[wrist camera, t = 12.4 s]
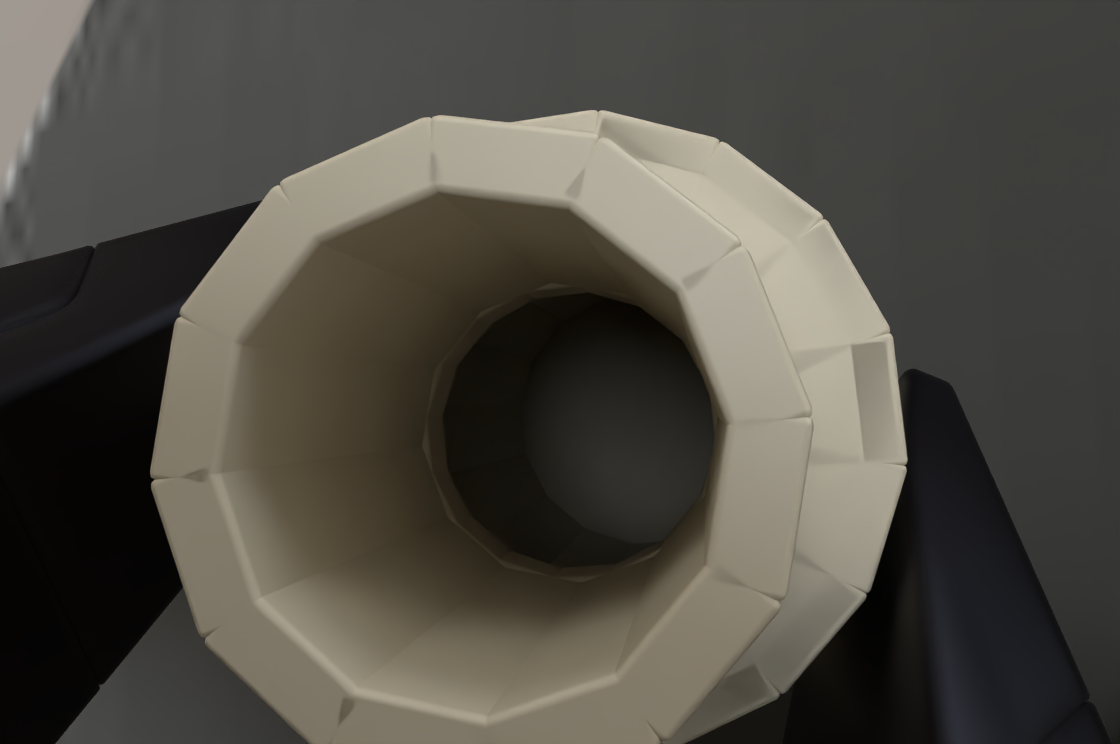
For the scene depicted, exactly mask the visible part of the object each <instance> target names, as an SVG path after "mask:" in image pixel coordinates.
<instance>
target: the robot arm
mask: <svg viewBox="0 0 1120 744" xmlns="http://www.w3.org/2000/svg"><path fill="white" fill-rule="evenodd" d="M262 201H263V200H261V201H257V202H254V203H250V204H246V205H242V206H238V207H235V208H231V209H227V210H223V211H219V212H216V213H212V214H208V215H204V216H200V217H197V218H193V219H189V220H185V221H181V222H178V223H174V224H170V225H166V226H162V227H159V228H155V229H151V230H147V231H143V232H140V233H136V234H132V235H128V236H124V237H121V238H117V239H113V240H109V241H105V242H102V243H99V244H97V246H96V247H95V249H94V248H93V247H92V246H86V247H82V248H78V249H75V250H71V251H67V252H63V253H59V254H56V255H52V256H48V257H44V258H40V259H35V260H31V261H27V262H23V263H19V264H15V265H11V266H7V267H3V268H0V744H55V743H56V742H57V741H58V740H59V738H60V737H61V736H62V735H63V734H64V732H65V731H66V730H67V729H68V727H69V726H70V725H71V724H72V723H73V721H74V720H75V719H76V718H77V717H78V715H79V714H80V713H81V712H82V710H83V709H84V708H85V707H86V706H87V704H88V703H89V702H90V701H91V699H92V698H93V697H94V696H95V695H96V693H97V692H98V691H99V689H100V686H99V685H102V684H104V683H105V682H106V680H107V679H108V678H109V677H110V676H111V674H112V673H113V672H114V671H115V669H116V668H117V667H118V666H119V665H120V663H121V662H122V661H123V660H124V658H125V657H126V656H127V655H128V654H129V652H130V651H131V650H132V649H133V648H134V646H135V645H136V644H137V643H138V641H139V640H140V639H141V638H142V637H143V635H144V634H145V633H146V632H147V630H148V629H149V628H150V627H151V626H152V624H153V623H154V622H155V621H156V619H157V618H158V617H159V616H160V615H161V613H162V612H163V611H164V610H165V609H166V607H167V606H168V605H169V604H170V602H171V601H172V600H173V599H174V598H175V596H176V595H177V594H178V593H179V591H180V590H181V589H182V588H183V585H182V582H181V579H180V576H179V572H178V569H177V566H176V563H175V560H174V557H173V554H172V551H171V548H170V545H169V542H168V539H167V536H166V533H165V529H164V526H163V523H162V520H161V517H160V514H159V511H158V508H157V505H156V502H155V499H154V496H153V493H152V490H151V483H152V482H153V481H154V480H155V479H153V478H151V475H150V468H151V462H152V456H153V450H154V444H155V438H156V432H157V426H158V420H159V414H160V408H161V402H162V396H163V390H164V384H165V378H166V372H167V366H168V360H169V354H170V348H171V342H172V336H173V330H174V324H175V322H176V320H177V318H179V317H181V315H180V314H179V313H180V310H181V308H182V306H183V305H184V304H185V302H186V301H187V300H188V298H189V297H190V296H191V294H192V293H193V292H194V290H195V289H196V288H197V286H198V285H199V284H200V282H201V281H202V280H203V278H204V277H205V276H206V275H207V273H208V272H209V271H210V269H211V268H212V267H213V265H214V264H215V263H216V261H217V260H218V259H219V257H220V256H221V255H222V253H223V252H224V251H225V249H226V248H227V247H228V246H229V244H230V243H231V242H232V240H233V239H234V238H235V236H236V235H237V234H238V232H239V231H240V230H241V228H242V227H243V226H244V224H245V223H246V222H247V220H248V219H249V218H250V217H251V215H252V214H253V213H254V211H255V210H256V209H257V207H258V206H259V205H260V203H261V202H262ZM898 383H899V391H900V399H901V408H902V416H903V424H904V433H905V441H906V450H907V458H908V461H907V464H906V465H904V466H905V467H906V470H907V472H906V476H905V479H904V482H903V486H902V489H901V492H900V496H899V499H898V502H897V506H896V509H895V512H894V516H893V519H892V522H891V525H890V529H889V532H888V535H887V539H886V542H885V545H884V549H883V552H882V555H881V559H880V562H879V565H878V569H877V572H876V575H875V579H874V582H873V585H872V589H871V590H870V591H869V592H868V593H866V595H867V596H866V600H865V601H864V602H863V603H862V604H861V606H860V607H859V608H858V609H857V610H856V611H855V613H854V614H853V615H852V616H851V617H850V618H849V620H848V621H847V622H846V623H845V624H844V625H843V627H842V628H841V629H840V630H839V631H838V632H837V634H836V635H835V636H834V637H833V638H832V639H831V641H830V642H829V643H828V644H827V645H826V646H825V648H824V649H823V650H822V651H821V652H820V654H819V655H818V656H817V657H816V658H815V659H814V661H813V662H812V663H811V664H810V665H809V666H808V668H807V669H806V670H805V671H804V672H803V673H802V675H801V676H800V677H799V678H798V679H797V680H796V682H795V683H794V688H793V693H792V698H791V703H790V708H789V713H788V718H787V723H786V728H785V733H784V738H783V743H782V744H1112V743H1111V741H1110V739H1109V736H1108V734H1107V732H1106V730H1105V727H1104V725H1103V723H1102V721H1101V718H1100V716H1099V714H1098V712H1097V709H1096V707H1095V705H1094V704H1092V703H1090V702H1086V701H1087V700H1088V699H1089V692H1088V690H1087V688H1086V686H1085V683H1084V681H1083V679H1082V677H1081V674H1080V672H1079V670H1078V668H1077V665H1076V663H1075V661H1074V659H1073V656H1072V654H1071V652H1070V650H1069V647H1068V645H1067V643H1066V641H1065V638H1064V636H1063V634H1062V632H1061V629H1060V627H1059V625H1058V623H1057V620H1056V618H1055V616H1054V614H1053V611H1052V609H1051V607H1050V605H1049V602H1048V600H1047V598H1046V596H1045V593H1044V591H1043V589H1042V587H1041V584H1040V582H1039V580H1038V578H1037V575H1036V573H1035V571H1034V569H1033V566H1032V564H1031V562H1030V560H1029V557H1028V555H1027V553H1026V551H1025V548H1024V546H1023V544H1022V542H1021V539H1020V537H1019V535H1018V533H1017V530H1016V528H1015V526H1014V524H1013V521H1012V519H1011V517H1010V515H1009V512H1008V510H1007V508H1006V506H1005V503H1004V501H1003V499H1002V497H1001V494H1000V492H999V490H998V488H997V485H996V483H995V481H994V479H993V476H992V474H991V472H990V470H989V467H988V465H987V463H986V461H985V458H984V456H983V454H982V452H981V449H980V447H979V445H978V443H977V440H976V438H975V436H974V434H973V431H972V429H971V427H970V425H969V422H968V420H967V418H966V416H965V413H964V411H963V409H962V407H961V404H960V402H959V400H958V398H957V395H956V393H955V391H954V389H953V387H952V386H951V385H950V384H949V383H948V382H946V381H944V380H942V379H939V378H937V377H934V376H932V375H929V374H927V373H924V372H922V371H920V370H917V369H909V370H907V371H906V372H904V373H903V375H902V376H901V377H900V379H899V380H898ZM1085 702H1086V703H1085Z"/></svg>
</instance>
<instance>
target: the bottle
mask: <svg viewBox="0 0 1120 744" xmlns="http://www.w3.org/2000/svg"><path fill="white" fill-rule="evenodd" d="M822 218H823V217H822V215H821V213H819V212H818V211H817V210H815V209H814V208H813V207H811V206H810V205H809V204H807V203H806V202H805V201H803V200H802V199H801V198H799V197H798V196H797V195H795V194H794V193H793V192H791V191H790V190H789V189H787V188H786V187H785V186H783V185H782V184H781V183H779V182H778V181H776V180H775V179H774V178H772V177H771V176H770V175H768V174H767V173H766V172H764V171H763V170H762V169H760V168H759V167H758V166H756V165H755V164H754V163H752V162H751V161H750V160H748V159H747V158H746V157H744V156H743V155H742V154H740V153H739V152H738V151H736V150H735V149H734V148H732V147H731V146H729V145H728V144H727V143H725V142H720V143H719V140H718V139H716V138H714V137H710V136H706V135H702V134H698V133H694V132H690V131H686V130H681V129H677V128H673V127H669V126H665V125H661V124H657V123H653V122H649V121H645V120H641V119H637V118H633V117H629V116H624V115H620V114H616V113H612V112H608V111H604V110H603V111H599V112H597V111H595V110H589V111H582V112H576V113H569V114H563V115H556V116H550V117H543V118H537V119H530V120H524V121H517V122H511V123H507V122H498V121H489V120H480V119H472V118H463V117H454V116H445V115H439V116H434V117H433V118H432V119H431V118H429V117H426V118H421V119H418V120H416V121H414V122H412V123H409V124H407V125H405V126H403V127H400V128H398V129H396V130H394V131H391V132H389V133H387V134H385V135H382V136H380V137H378V138H375V139H373V140H371V141H369V142H366V143H364V144H362V145H360V146H357V147H355V148H353V149H351V150H348V151H346V152H344V153H342V154H339V155H337V156H335V157H332V158H330V159H328V160H326V161H323V162H321V163H319V164H317V165H314V166H312V167H310V168H308V169H305V170H303V171H301V172H299V173H296V174H294V175H292V176H289V177H287V178H285V179H284V180H282V181H281V182H280V186H279V185H278V186H275V187H274V188H272V189H271V190H270V191H269V193H268V194H267V195H266V197H265V198H264V199H263V201H262V202H261V203H260V205H259V206H258V207H257V209H256V210H255V211H254V213H253V214H252V215H251V217H250V218H249V219H248V220H247V222H246V223H245V224H244V226H243V227H242V228H241V230H240V231H239V232H238V234H237V235H236V236H235V238H234V239H233V240H232V242H231V243H230V244H229V246H228V247H227V248H226V249H225V251H224V252H223V253H222V255H221V256H220V257H219V259H218V260H217V261H216V263H215V264H214V265H213V267H212V268H211V269H210V271H209V272H208V273H207V275H206V276H205V277H204V278H203V280H202V281H201V282H200V284H199V285H198V286H197V288H196V289H195V290H194V292H193V293H192V294H191V296H190V297H189V298H188V300H187V301H186V302H185V304H184V305H183V306H182V308H181V310H180V313H179V314H180V315H181V317H179V318H177V320H176V322H175V324H174V330H173V336H172V342H171V348H170V354H169V360H168V366H167V372H166V378H165V384H164V390H163V396H162V402H161V408H160V414H159V420H158V426H157V432H156V438H155V444H154V450H153V456H152V462H151V468H150V475H151V478H153V479H155V480H154V481H153V482H152V483H151V490H152V493H153V496H154V499H155V502H156V505H157V508H158V511H159V514H160V517H161V520H162V523H163V526H164V529H165V533H166V536H167V539H168V542H169V545H170V548H171V551H172V554H173V557H174V560H175V563H176V566H177V569H178V572H179V576H180V579H181V582H182V585H183V588H184V591H185V594H186V597H187V600H188V603H189V606H190V609H191V612H192V616H193V619H194V622H195V625H196V628H197V631H198V633H199V635H200V636H201V637H202V638H206V640H205V644H206V646H207V648H208V649H209V650H210V651H211V652H213V653H214V654H215V655H216V656H217V657H218V658H219V659H220V660H221V661H222V662H223V663H224V664H225V665H226V666H227V667H228V668H229V669H230V670H231V671H232V672H233V673H235V674H236V675H237V676H238V677H239V678H240V679H241V680H242V681H243V682H244V683H245V684H246V685H247V686H248V687H249V688H250V689H251V690H252V691H253V692H254V693H255V694H257V695H258V696H259V697H260V698H261V699H262V700H263V701H264V702H265V703H266V704H267V705H268V706H269V707H270V708H271V709H272V710H273V711H274V712H275V713H276V714H277V715H279V716H280V717H281V718H282V719H283V720H284V721H285V722H286V723H287V724H288V725H289V726H290V727H291V728H292V729H293V730H294V731H295V732H296V733H297V734H298V735H299V736H301V737H302V738H303V739H304V740H305V741H306V742H307V743H308V744H685V743H687V742H689V741H691V740H693V739H695V738H698V737H700V736H702V735H704V734H706V733H708V732H710V731H712V730H714V729H716V728H718V727H720V726H722V725H725V724H727V723H729V722H731V721H733V720H735V719H737V718H739V717H741V716H743V715H745V714H747V713H750V712H752V711H754V710H756V709H758V708H760V707H762V706H764V705H766V704H768V703H770V702H772V701H774V700H777V699H778V698H779V697H780V693H781V694H783V693H785V692H787V691H788V690H789V689H790V687H791V686H792V685H793V684H794V683H795V682H796V680H797V679H798V678H799V677H800V676H801V675H802V673H803V672H804V671H805V670H806V669H807V668H808V666H809V665H810V664H811V663H812V662H813V661H814V659H815V658H816V657H817V656H818V655H819V654H820V652H821V651H822V650H823V649H824V648H825V646H826V645H827V644H828V643H829V642H830V641H831V639H832V638H833V637H834V636H835V635H836V634H837V632H838V631H839V630H840V629H841V628H842V627H843V625H844V624H845V623H846V622H847V621H848V620H849V618H850V617H851V616H852V615H853V614H854V613H855V611H856V610H857V609H858V608H859V607H860V606H861V604H862V603H863V602H864V601H865V600H866V596H867V595H866V593H868V592H869V591H870V590H871V589H872V585H873V582H874V579H875V575H876V572H877V569H878V565H879V562H880V559H881V555H882V552H883V549H884V545H885V542H886V539H887V535H888V532H889V529H890V525H891V522H892V519H893V516H894V512H895V509H896V506H897V502H898V499H899V496H900V492H901V489H902V486H903V482H904V479H905V476H906V472H907V470H906V467H905V466H904V465H906V464H907V461H908V458H907V450H906V441H905V433H904V424H903V416H902V408H901V399H900V391H899V383H898V374H897V366H896V358H895V349H894V341H893V337H892V335H891V334H889V332H890V328H889V325H888V324H887V322H886V320H885V318H884V317H883V315H882V313H881V312H880V310H879V308H878V306H877V305H876V303H875V301H874V299H873V298H872V296H871V294H870V293H869V291H868V289H867V287H866V286H865V284H864V282H863V281H862V279H861V277H860V275H859V274H858V272H857V270H856V269H855V267H854V265H853V263H852V262H851V260H850V258H849V257H848V255H847V253H846V251H845V250H844V248H843V246H842V244H841V243H840V241H839V239H838V238H837V236H836V234H835V232H834V231H833V229H832V227H831V226H830V224H829V222H828V221H826V220H825V219H824V220H822Z"/></svg>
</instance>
